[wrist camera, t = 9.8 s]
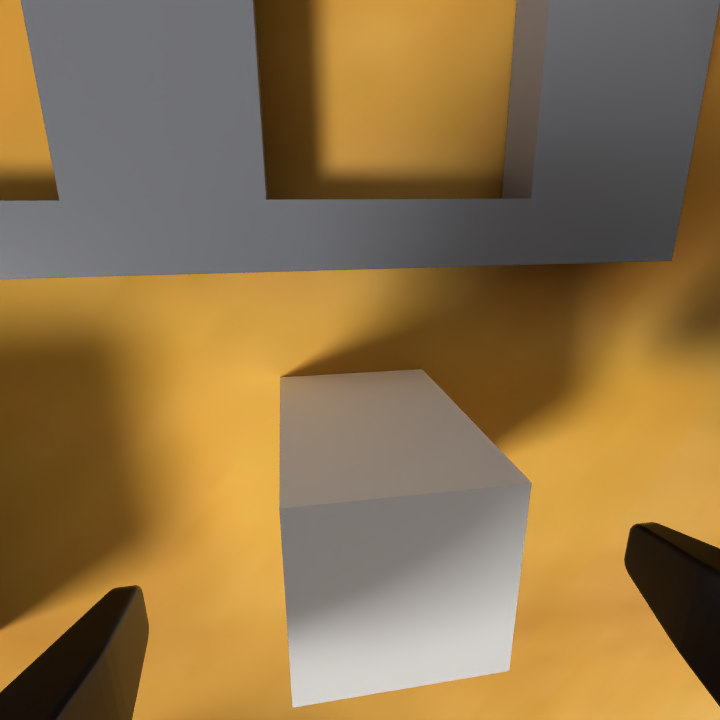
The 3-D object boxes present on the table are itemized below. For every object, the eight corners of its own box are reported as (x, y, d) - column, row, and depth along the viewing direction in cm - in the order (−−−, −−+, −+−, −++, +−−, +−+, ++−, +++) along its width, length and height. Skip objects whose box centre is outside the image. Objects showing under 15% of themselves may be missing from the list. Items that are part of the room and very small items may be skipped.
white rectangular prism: (422, 368, 13) (531, 482, 7) (417, 491, 14) (509, 671, 8) (280, 376, 12) (279, 508, 7) (287, 504, 14) (292, 708, 8)
